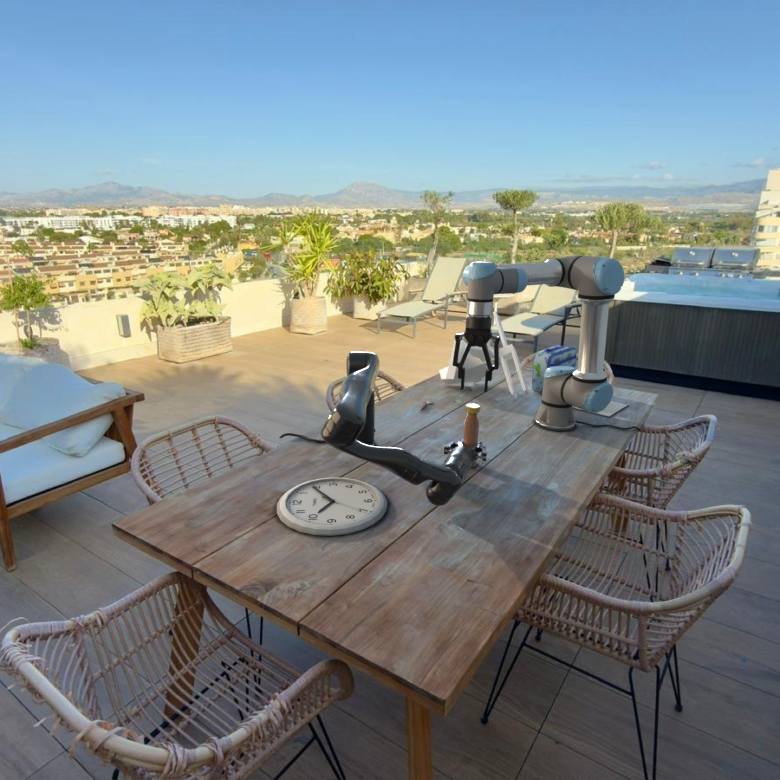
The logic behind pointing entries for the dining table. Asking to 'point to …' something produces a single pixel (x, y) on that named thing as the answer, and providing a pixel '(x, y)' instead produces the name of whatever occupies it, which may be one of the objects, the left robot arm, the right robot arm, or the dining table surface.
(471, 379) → the white plastic object
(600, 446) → the dining table surface
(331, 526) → the wall clock
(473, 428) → the bottle
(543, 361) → the lunch box
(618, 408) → the invitation card
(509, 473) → the dining table surface
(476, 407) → the cap
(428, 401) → the fork
